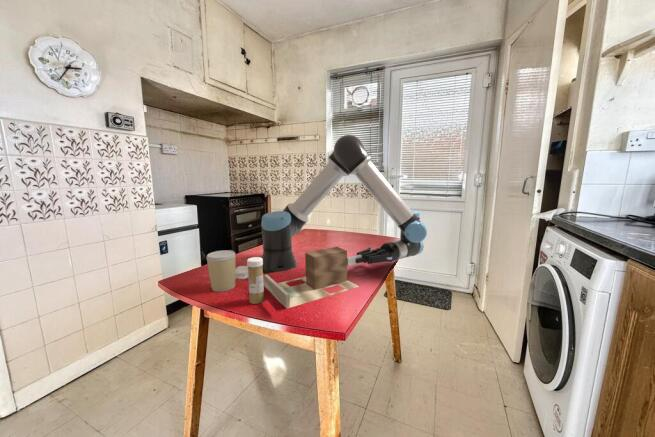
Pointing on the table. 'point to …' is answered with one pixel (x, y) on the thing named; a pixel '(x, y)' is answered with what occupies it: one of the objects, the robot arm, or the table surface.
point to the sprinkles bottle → (255, 280)
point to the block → (326, 267)
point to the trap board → (299, 291)
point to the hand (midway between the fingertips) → (346, 261)
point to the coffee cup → (222, 270)
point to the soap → (242, 272)
